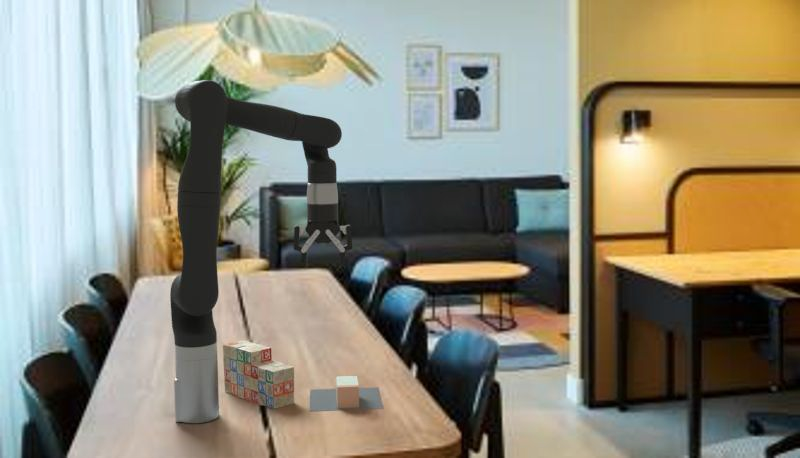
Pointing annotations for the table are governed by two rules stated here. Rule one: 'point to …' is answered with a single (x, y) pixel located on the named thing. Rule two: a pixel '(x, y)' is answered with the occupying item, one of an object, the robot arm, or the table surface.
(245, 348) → the stack of blocks
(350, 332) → the table surface
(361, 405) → the charcoal mat
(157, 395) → the table surface
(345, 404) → the sage block
